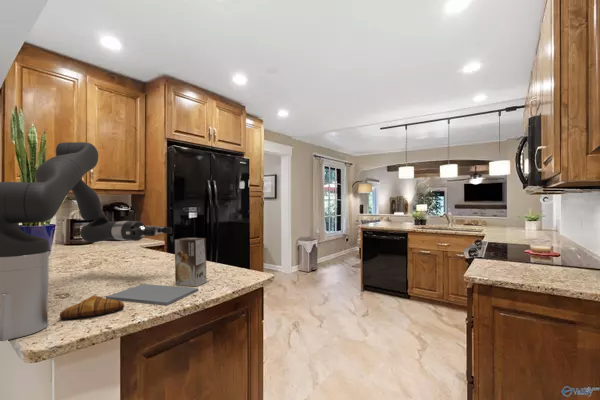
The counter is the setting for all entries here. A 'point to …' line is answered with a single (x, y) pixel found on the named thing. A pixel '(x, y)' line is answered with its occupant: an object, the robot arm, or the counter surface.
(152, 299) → the mat
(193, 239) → the coffee box
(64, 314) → the croissant
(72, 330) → the counter surface
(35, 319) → the robot arm
